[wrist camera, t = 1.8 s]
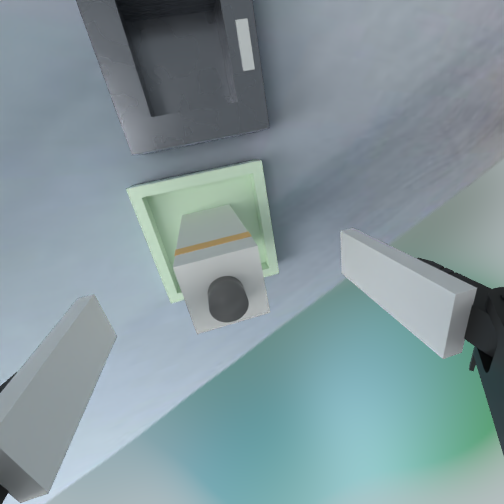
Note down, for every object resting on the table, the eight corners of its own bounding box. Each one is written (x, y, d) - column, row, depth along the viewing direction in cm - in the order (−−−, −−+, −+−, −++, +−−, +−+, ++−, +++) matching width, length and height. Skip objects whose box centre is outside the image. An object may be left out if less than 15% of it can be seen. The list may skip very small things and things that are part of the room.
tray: (172, 291, 23) (171, 303, 21) (132, 185, 19) (125, 189, 17) (272, 264, 24) (279, 273, 23) (255, 159, 20) (261, 160, 18)
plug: (195, 258, 22) (197, 351, 12) (181, 215, 20) (170, 280, 10) (239, 247, 22) (277, 327, 12) (229, 203, 20) (264, 254, 10)
